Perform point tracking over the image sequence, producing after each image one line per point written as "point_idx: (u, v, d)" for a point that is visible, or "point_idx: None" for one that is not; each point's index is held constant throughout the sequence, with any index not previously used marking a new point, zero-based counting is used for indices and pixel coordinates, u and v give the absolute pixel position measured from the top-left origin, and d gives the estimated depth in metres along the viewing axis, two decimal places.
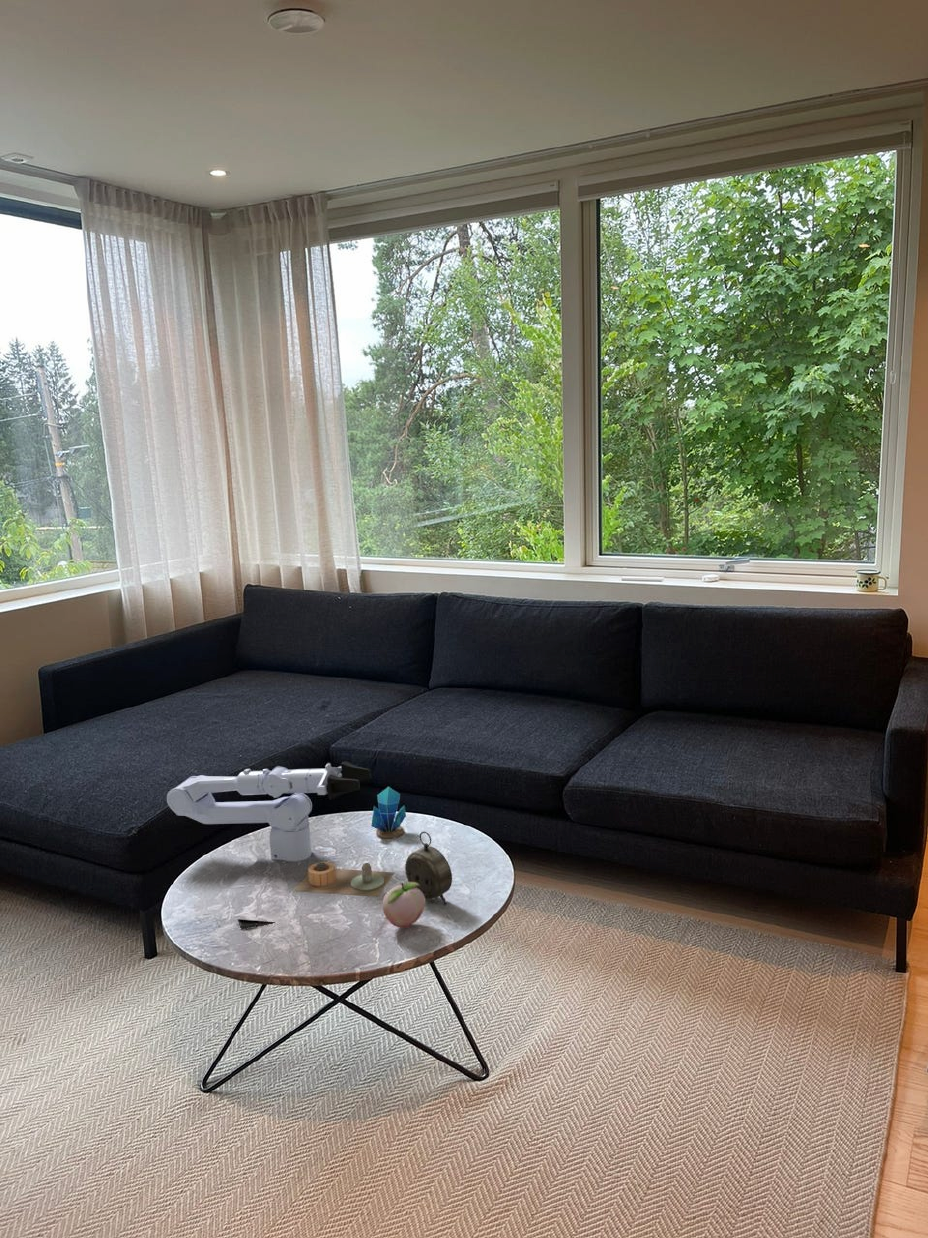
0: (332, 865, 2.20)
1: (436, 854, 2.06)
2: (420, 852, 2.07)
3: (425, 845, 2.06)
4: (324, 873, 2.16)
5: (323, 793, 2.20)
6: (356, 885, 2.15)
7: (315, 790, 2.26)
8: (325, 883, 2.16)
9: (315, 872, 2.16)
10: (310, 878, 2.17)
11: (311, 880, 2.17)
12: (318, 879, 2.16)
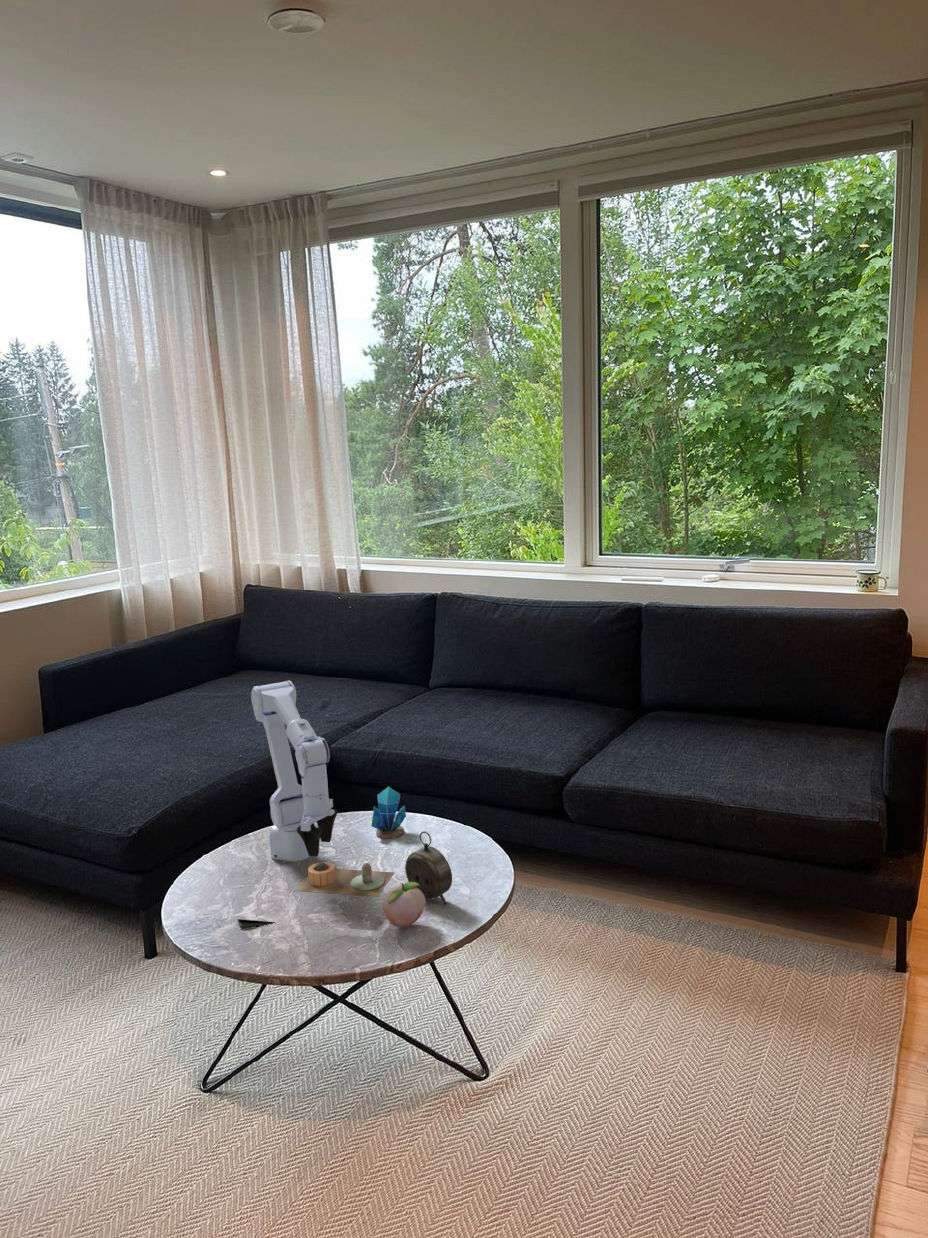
0: (332, 865, 2.20)
1: (436, 854, 2.06)
2: (420, 852, 2.07)
3: (425, 845, 2.06)
4: (324, 873, 2.16)
5: (302, 829, 2.10)
6: (356, 885, 2.15)
7: (305, 802, 2.14)
8: (325, 883, 2.16)
9: (315, 872, 2.16)
10: (310, 878, 2.17)
11: (311, 880, 2.17)
12: (318, 879, 2.16)
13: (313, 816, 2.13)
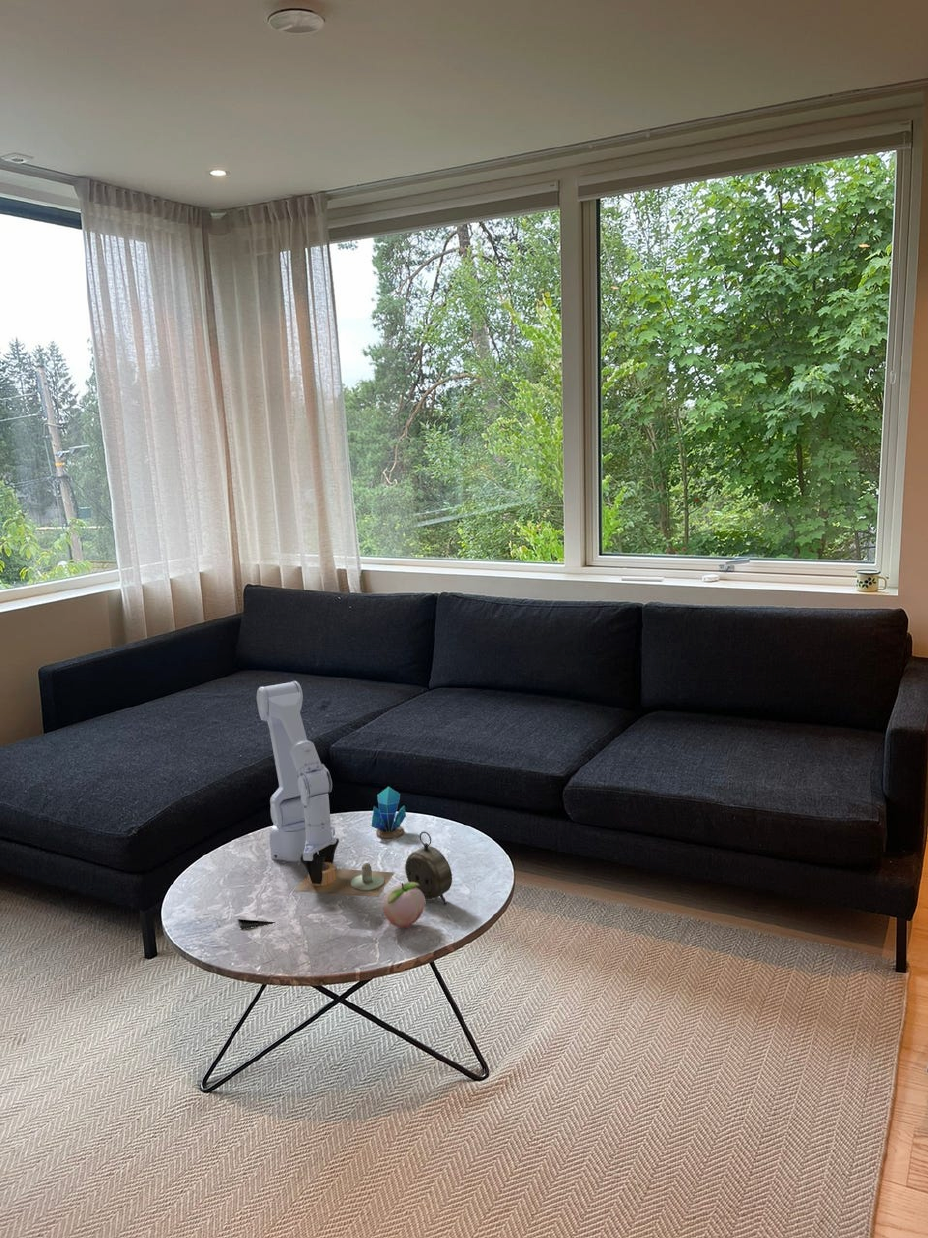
0: (332, 865, 2.20)
1: (436, 854, 2.06)
2: (420, 852, 2.07)
3: (425, 845, 2.06)
4: (324, 873, 2.16)
5: (304, 859, 2.11)
6: (356, 885, 2.15)
7: (307, 831, 2.15)
8: (325, 883, 2.16)
9: None
10: None
11: None
12: None
13: (315, 845, 2.14)
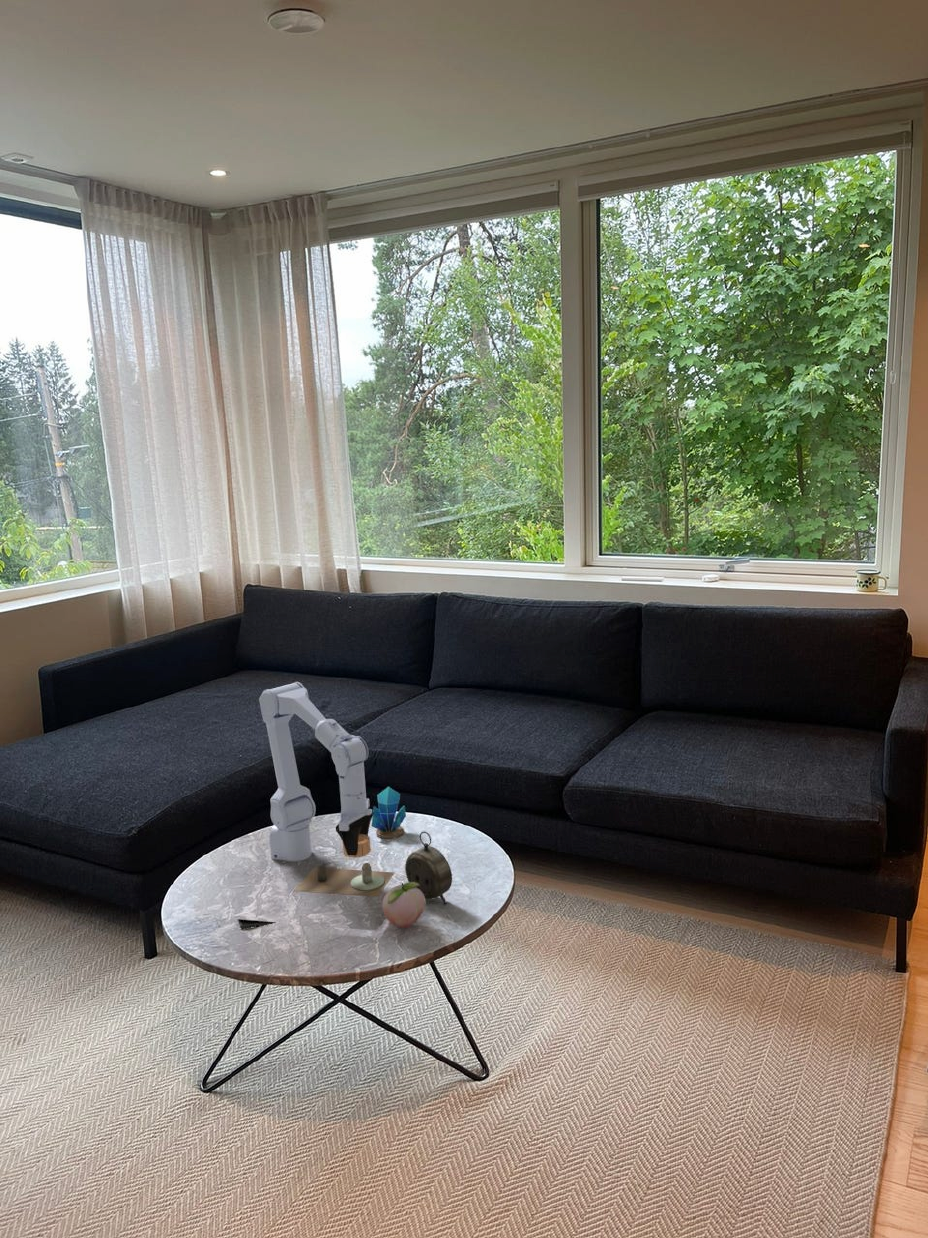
0: (367, 837, 2.16)
1: (436, 854, 2.06)
2: (420, 852, 2.07)
3: (425, 845, 2.06)
4: (359, 844, 2.12)
5: (340, 829, 2.07)
6: (356, 885, 2.15)
7: (343, 802, 2.11)
8: (360, 855, 2.13)
9: None
10: (345, 850, 2.14)
11: None
12: None
13: (351, 816, 2.11)
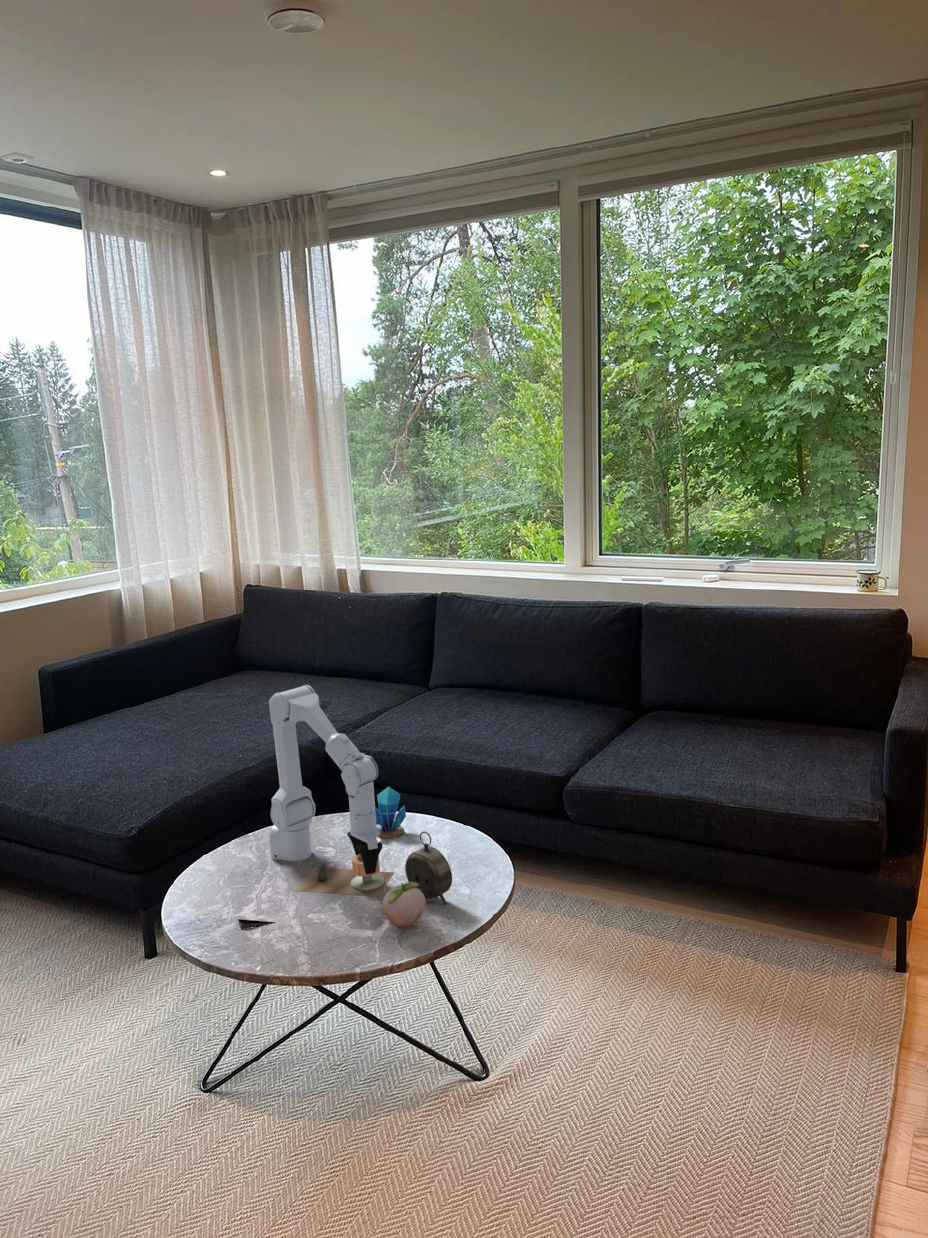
0: None
1: (436, 854, 2.06)
2: (420, 852, 2.07)
3: (425, 845, 2.06)
4: None
5: (370, 848, 2.08)
6: (356, 885, 2.15)
7: (358, 822, 2.11)
8: (376, 871, 2.14)
9: None
10: (360, 870, 2.13)
11: (362, 872, 2.13)
12: None
13: (369, 834, 2.12)
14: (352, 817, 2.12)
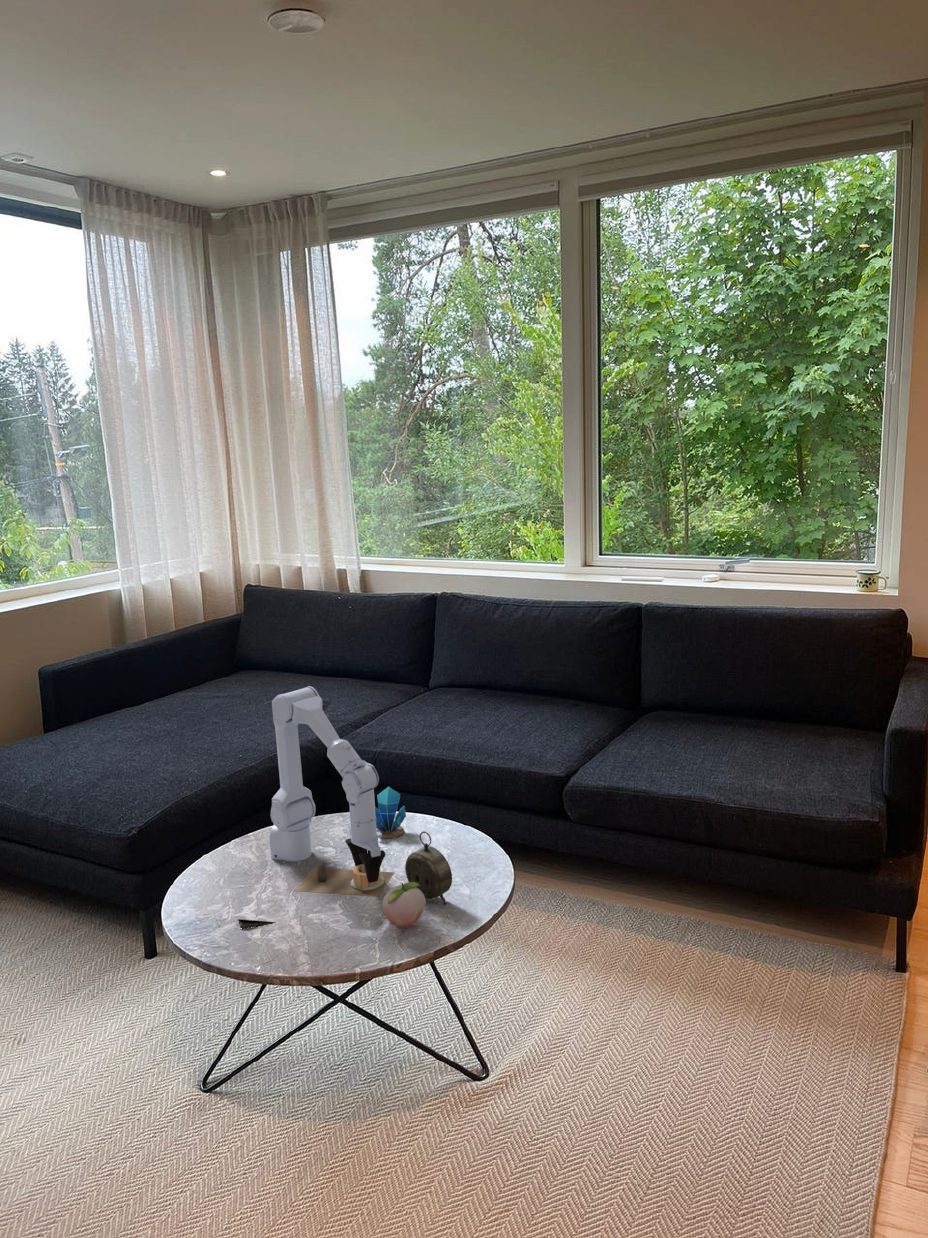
0: None
1: (436, 854, 2.06)
2: (420, 852, 2.07)
3: (425, 845, 2.06)
4: None
5: (373, 855, 2.08)
6: None
7: (360, 830, 2.11)
8: (378, 881, 2.15)
9: None
10: (362, 881, 2.13)
11: (364, 883, 2.13)
12: None
13: (370, 841, 2.12)
14: (353, 825, 2.12)
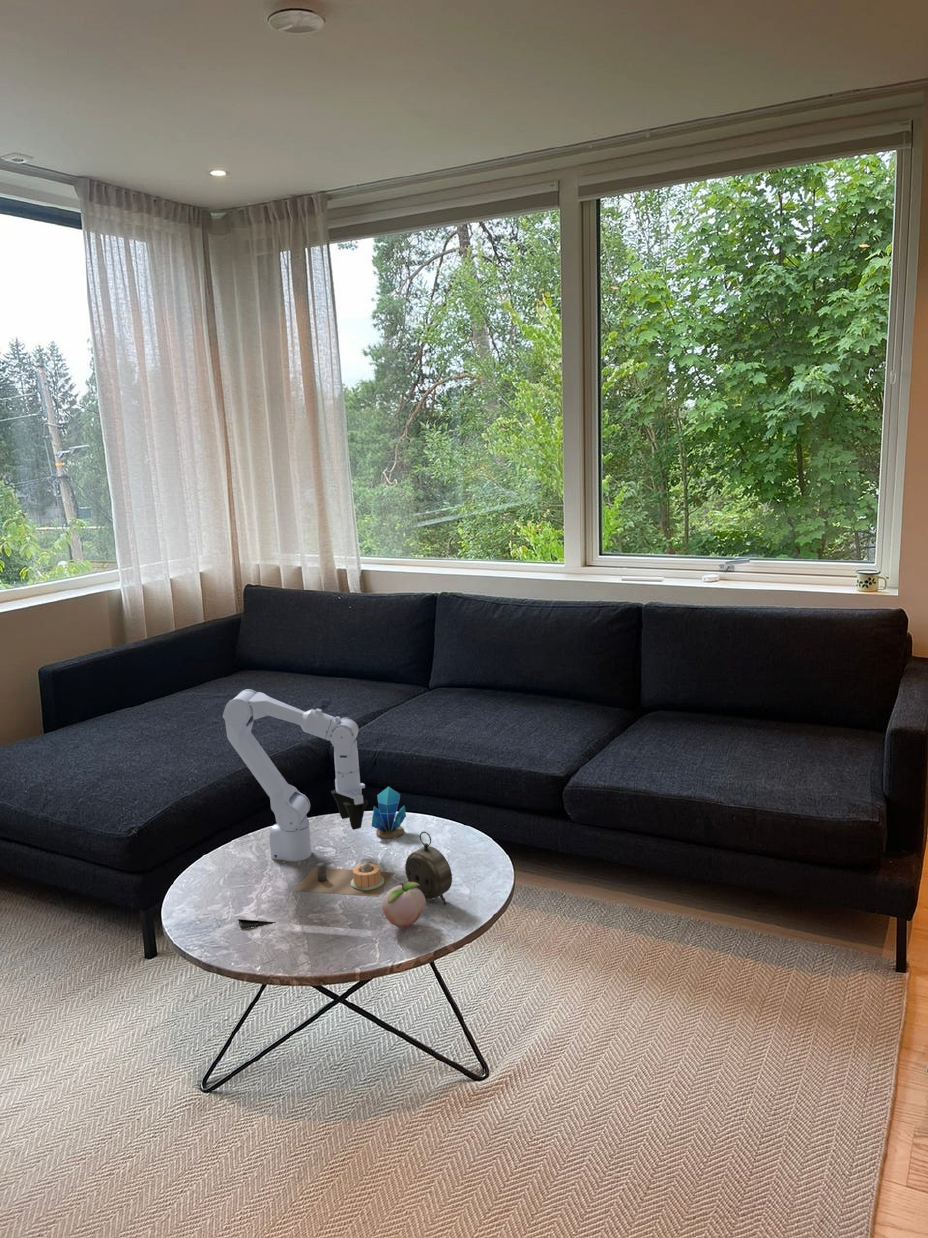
0: (372, 864, 2.18)
1: (436, 854, 2.06)
2: (420, 852, 2.07)
3: (425, 845, 2.06)
4: (377, 872, 2.15)
5: (356, 803, 2.22)
6: None
7: (344, 780, 2.25)
8: (378, 881, 2.15)
9: (368, 873, 2.13)
10: (362, 881, 2.13)
11: (364, 883, 2.13)
12: (373, 879, 2.14)
13: (354, 791, 2.26)
14: (338, 775, 2.26)
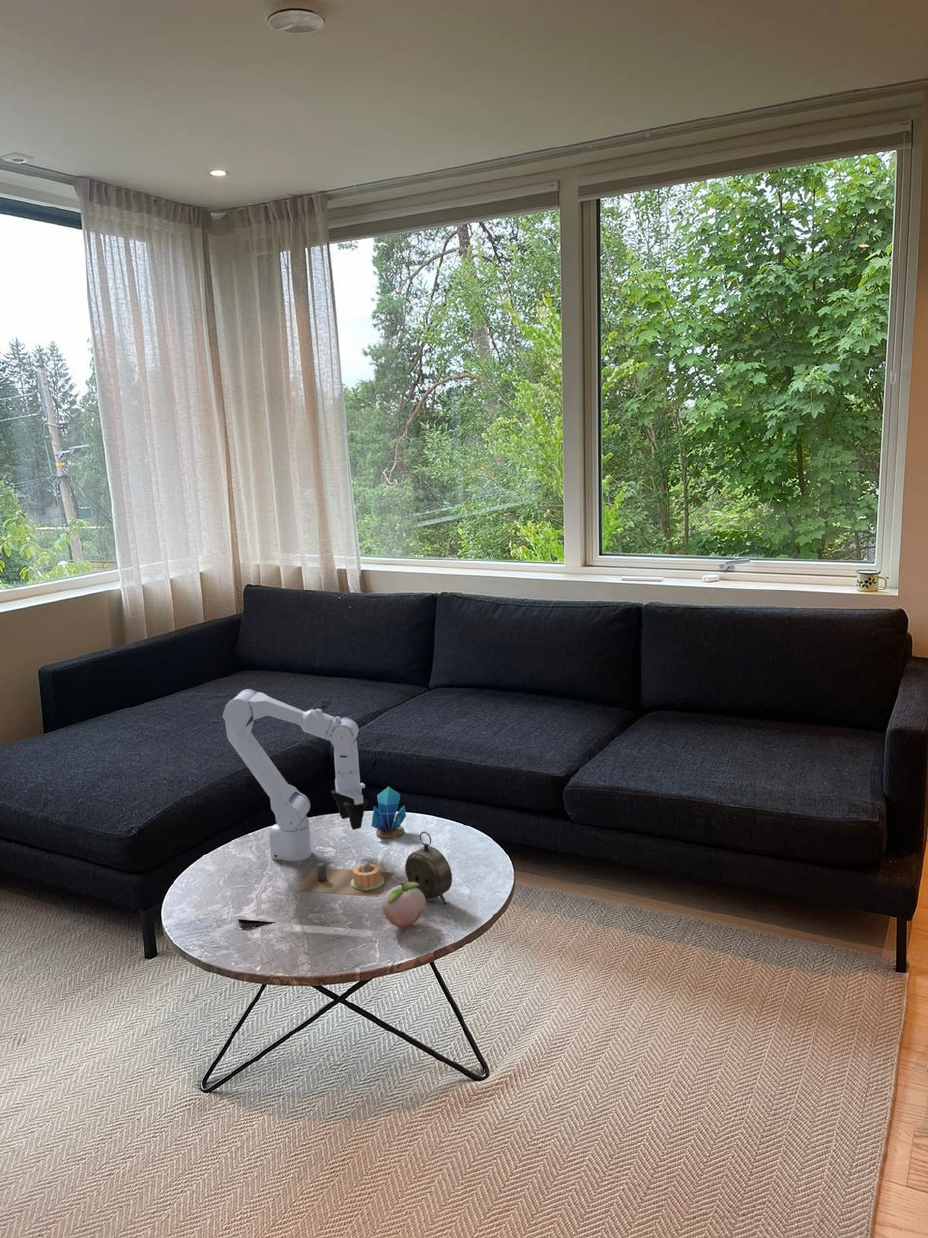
0: (372, 864, 2.18)
1: (436, 854, 2.06)
2: (420, 852, 2.07)
3: (425, 845, 2.06)
4: (377, 872, 2.15)
5: (356, 803, 2.22)
6: None
7: (344, 780, 2.25)
8: (378, 881, 2.15)
9: (368, 873, 2.13)
10: (362, 881, 2.13)
11: (364, 883, 2.13)
12: (373, 879, 2.14)
13: (354, 791, 2.26)
14: (338, 775, 2.26)
